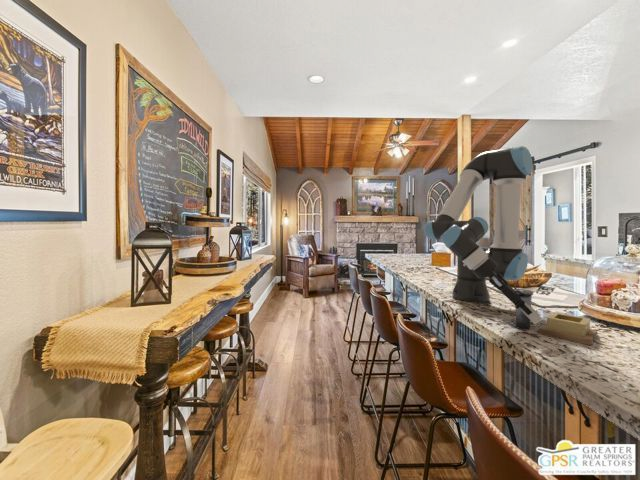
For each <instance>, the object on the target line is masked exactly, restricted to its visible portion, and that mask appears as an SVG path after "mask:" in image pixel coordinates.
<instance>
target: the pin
mask: <svg viewBox="0 0 640 480" xmlns="http://www.w3.org/2000/svg"><path fill="white" fill-rule="evenodd" d="M514 290H515V293H516V294H517V295H518V296H519V297H520V298H521V299H522V300H523V301H524V302H526V303H527V304H528V305H529V306H530V307H532V296H534V291H533V290H531V289H525V288H516V289H514ZM531 322H532V321H531V320H530V319H529V318H528V317H527V316H526V315H525V314H524V313H523V312H522V311H521V310H520V309H519V308H517V309H516V308H515V325H514V326H515V328H516V329H519V330H531Z"/></svg>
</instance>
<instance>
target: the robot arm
mask: <svg viewBox="0 0 640 480" xmlns="http://www.w3.org/2000/svg"><path fill="white" fill-rule="evenodd" d="M533 165H534V164H533V158H532V154H531V153H530V150H529V149H528V148H527V147H526V146H522V145H520V146H519V145H518V146H511V147H506V148H505V147H504V148H501V149H500V148H499V149H496V150H490V151H489V150H488V151H484V152H482V153H480V154H477V156H475V157H474V158H473V159H471V160H470V161H469V162H468V163H467V164H466V165H465V167H463V169H462V170H461V173H460V174H459V180H458V182H457V184H456V185H455V187H454V189H453V190H452V192H451V193H450V195H449V197H448V198H447V201H446V202H445V204H444V205H443V207H442V209H441V210H440V212H439V214H438V216H436V218H435V220H429V221H427V222H426V224H425V226H424V235H425V236H426V238H427V239H430V240H435V241H441V242H442V243H443V244H444V245H445V247H446V248H448V249H449V250H450V251H451V252H452V253H453V254H454V255H455V256H456V257H457V265H456V266H457V269H456V271H457V273H456V274H457V275H456V282H455V285H454V286H453V290H452V295H451V296H452V298H453V299H456V300H460V301H464V302H471V303H485V302H486V303H487V302H490V297H491V296H490V293H489V289H488V286H487V282H486V281H487V280H486V279H487V278H488V279H489V283H490V284H491V285H492V286H494V287H495V288H496V289H497V290H498V291H500V292H501V293H502V294H503V295H504V296H505V297H506V298H507V299H508V300H509V301H510V302H511V303H512V304H513V305H514V306H515V307H514V309H515V310H516V309H517V308H519V309H520V310H521V311H522V312H523V313H524V314H525V315H526V316H527V317H528V318H529V319H530V320H531V321H530V322H532V323H533V324H534V325H537V324H538V323H540V322H541V321H542V320H543V317H541V315H540V313H538V312H537V310H535V308H533V306H531V307H530V306H529V305H528V304H527V303H526V302H524V301H523V300H522V299H521V298H520V297H519V296H518V295H517V294H516V293H515V289H514V288H513V287H512V286H511V285H510V284H509V283H508V281H513V282H516V281H520V280H521V279H522V278H523V277H524V275H525V274H526V271H527V268H528V265H529V264H528V263H529V259H528V255H527V253H525V252H523V247H522V246H521V245H519V231H520V229H519V228H520V213H521V196H522V195H521V193H522V184H523V183H525V182H526V181H527V176H529V175H531V174H532V173H533V169H534V167H533ZM490 179H491V180H492V183H494V185H495V186H496V192H495V194H496V195H495V217H494V233H493V234H494V235H493V236H494V237H493V243H492V244H491V245H490V246H489V250H488V247H487V246H479V245H478V244H477V242H478V241H480V240H481V239H483V238H484V237H485V235H486V234H487V233H488V231H489V224H488V222H487V221H486V219H484V218H483V217H480V216H474V217H472V218H470V219H468V220H459V219H460V217H461V216H462V214H463V212H464V211H465V209H466V207H467V205H468V204H469V201H470V199H471V198H472V196H473V195H474V193H475V191H476V190H477V188H478V187H479V186H481V185H482V184H483V182H484V181H485V180H490Z"/></svg>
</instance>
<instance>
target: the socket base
mask: <svg viewBox="0 0 640 480" xmlns="http://www.w3.org/2000/svg"><path fill="white" fill-rule="evenodd" d="M546 324H547V322H545V323H543V324H542V326H541V327H539V328H538V334H539V335H542V336H548V337H551V338H557V339H561V340H566V341H570V342H573V343H574V342H575V343H579V344H584V345H586V346H587V345H588V346H592V344H593V343H594V341H595V339H596V337H597V335H598V330H597V329H592V328H590V330H589V332H588V333H587V335H586V336H585V337H582V336H577V335H572V334H567V333H563V332H558V331H553V330H548V329H546Z"/></svg>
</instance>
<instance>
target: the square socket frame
mask: <svg viewBox="0 0 640 480" xmlns="http://www.w3.org/2000/svg"><path fill="white" fill-rule="evenodd" d="M546 323H547V324H546V329H548V330H553V331H558V332H563V333H567V334H572V335H577V336H582V337H585V336H586V335H587V333H588V332H589V330H590V329H591V318H590V317H589V318H588V317H582V316H578V315H571V314H565V313H559V312H553V311H552V313H551V314H549V315H548V316H547V317H546Z"/></svg>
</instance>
